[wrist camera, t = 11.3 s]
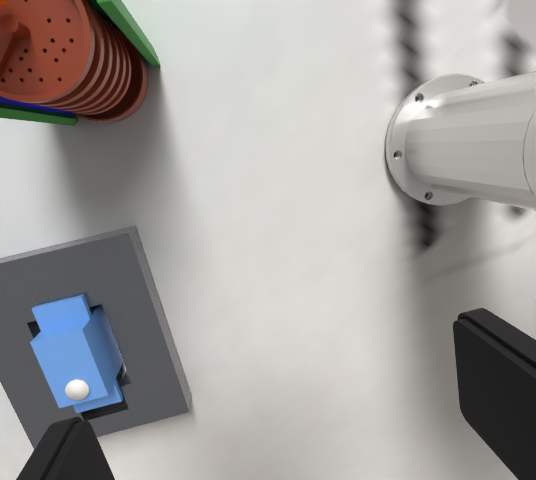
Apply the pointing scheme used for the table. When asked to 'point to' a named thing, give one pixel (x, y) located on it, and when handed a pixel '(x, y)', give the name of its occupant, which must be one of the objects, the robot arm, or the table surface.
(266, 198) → the table surface
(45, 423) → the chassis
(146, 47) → the motor
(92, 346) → the servo
